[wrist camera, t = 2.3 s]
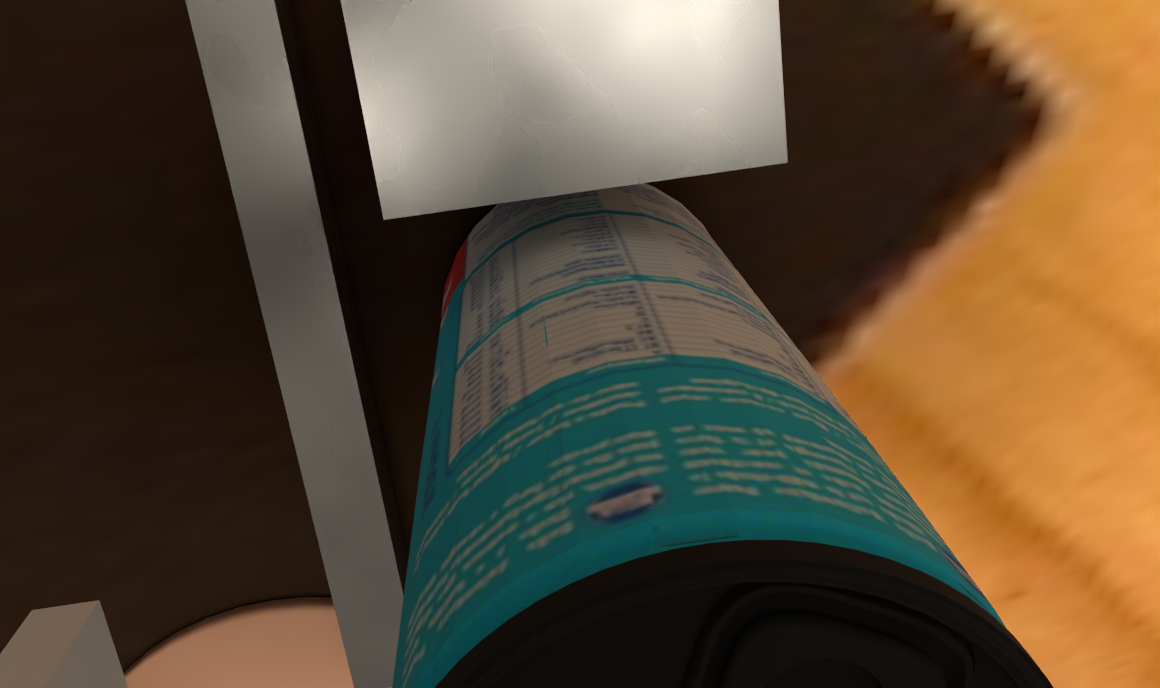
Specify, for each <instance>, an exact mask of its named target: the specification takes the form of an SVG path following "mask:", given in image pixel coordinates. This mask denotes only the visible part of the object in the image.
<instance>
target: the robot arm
mask: <svg viewBox="0 0 1160 688" xmlns="http://www.w3.org/2000/svg"><path fill="white" fill-rule="evenodd" d="M0 688H128V686H127V683H126V680H125V677H124V674H123V671H122V668H121V665H120V662H119V659H118V656H117V653H116V650H115V647H114V643H113V640H112V637H111V634H110V631H109V628H108V625H107V622H106V619H105V616H104V613H103V610H102V607H101V604H100V601H99V600H98V601H92V602H85V603H78V604H71V605H64V606H58V607H51V608H44V609H37V610H32V611H31V612H30V614H29V615H28V616H27V618H26V619H25V621H24V622H23V623H22V625H21V626H20V627H19V629H18V630H17V632H16V633H15V634H14V636H13V637H12V639H11V640H10V641H9V643H8V644H7V645H6V647H5V648H4V650H3V651H2V652H1V654H0Z"/></svg>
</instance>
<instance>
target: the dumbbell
mask: <svg viewBox="0 0 1160 688" xmlns="http://www.w3.org/2000/svg"><path fill="white" fill-rule="evenodd" d="M186 5H187V9H188V13H189V17H190V21H191V25H192V29H193V33H194V37H195V41H196V45H197V49H198V53H199V58H200V62H201V66H202V70H203V74H204V78H205V82H206V86H207V90H208V94H209V98H210V102H211V106H212V111H213V115H214V119H215V123H216V127H217V131H218V135H219V139H220V143H221V147H222V151H223V155H224V159H225V164H226V168H227V172H228V176H229V180H230V184H231V188H232V192H233V196H234V200H235V204H236V208H237V212H238V217H239V221H240V225H241V229H242V233H243V237H244V241H245V245H246V249H247V253H248V257H249V261H250V266H251V270H252V274H253V278H254V282H255V286H256V290H257V294H258V298H259V302H260V306H261V310H262V314H263V319H264V323H265V327H266V331H267V335H268V339H269V343H270V347H271V351H272V355H273V359H274V363H275V367H276V372H277V376H278V380H279V384H280V388H281V392H282V396H283V400H284V404H285V408H286V412H287V416H288V420H289V425H290V429H291V433H292V437H293V441H294V445H295V449H296V453H297V457H298V461H299V465H300V469H301V473H302V478H303V482H304V486H305V490H306V494H307V498H308V502H309V506H310V510H311V514H312V518H313V522H314V527H315V531H316V535H317V539H318V543H319V547H320V551H321V555H322V559H323V563H324V567H325V571H326V575H327V580H328V584H329V588H330V592H331V596H332V600H333V604H334V608H335V612H336V616H337V620H338V624H339V628H340V633H341V637H342V641H343V645H344V649H345V653H346V657H347V661H348V665H349V669H350V673H351V677H352V681H353V686H354V688H391V687H392V685H393V677H394V669H395V661H396V653H397V645H398V637H399V629H400V621H401V613H402V605H403V598H404V590H405V582H406V575H407V567H408V554H407V549H406V545H405V540H404V535H403V531H402V526H401V521H400V516H399V512H398V507H397V502H396V498H395V493H394V488H393V483H392V479H391V474H390V469H389V465H388V460H387V455H386V450H385V446H384V441H383V436H382V431H381V427H380V422H379V417H378V413H377V408H376V403H375V398H374V394H373V389H372V384H371V380H370V375H369V370H368V365H367V361H366V356H365V351H364V347H363V342H362V337H361V332H360V328H359V323H358V318H357V314H356V309H355V304H354V299H353V295H352V290H351V285H350V281H349V276H348V271H347V266H346V262H345V257H344V252H343V248H342V243H341V238H340V233H339V229H338V224H337V219H336V215H335V210H334V205H333V200H332V196H331V191H330V186H329V182H328V177H327V172H326V167H325V163H324V158H323V153H322V149H321V144H320V139H319V134H318V130H317V125H316V120H315V116H314V111H313V106H312V101H311V97H310V92H309V87H308V83H307V78H306V73H305V68H304V64H303V59H302V54H301V50H300V45H299V40H298V35H297V31H296V26H295V21H294V16H293V12H292V7H291V2H290V0H186ZM341 5H342V10H343V15H344V20H345V25H346V30H347V35H348V40H349V45H350V50H351V56H352V61H353V66H354V71H355V76H356V81H357V86H358V91H359V96H360V101H361V107H362V112H363V117H364V122H365V127H366V132H367V137H368V142H369V147H370V153H371V158H372V163H373V168H374V173H375V178H376V183H377V188H378V193H379V198H380V204H381V209H382V214H383V219H384V220H387V219H394V218H401V217H408V216H415V215H422V214H429V213H436V212H444V211H451V210H458V209H465V208H472V207H479V206H486V205H493V204H500V203H507V202H514V201H521V200H528V199H535V198H542V197H549V196H556V195H563V194H570V193H577V192H584V191H592V190H599V189H606V188H613V187H620V186H627V185H634V184H641V183H648V182H655V181H662V180H669V179H676V178H683V177H690V176H697V175H704V174H711V173H718V172H725V171H733V170H740V169H747V168H754V167H761V166H768V165H775V164H782V163H788V160H787V143H786V125H785V108H784V91H783V73H782V56H781V38H780V21H779V3H778V0H341Z"/></svg>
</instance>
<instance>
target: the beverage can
mask: <svg viewBox="0 0 1160 688" xmlns="http://www.w3.org/2000/svg"><path fill="white" fill-rule="evenodd" d="M441 316H442V319H441V326H440V333H439V340H438V347H437V355H436V362H435V369H434V376H433V383H432V390H431V397H430V404H429V411H428V418H427V425H426V432H425V439H424V446H423V453H422V460H421V468H420V475H419V483H418V490H417V498H416V506H415V513H414V521H413V529H412V536H411V544H410V552H409V559H408V567H407V575H406V582H405V590H404V598H403V605H402V613H401V621H400V629H399V637H398V645H397V653H396V661H395V669H394V677H393V685H392V688H1053V686H1052V685H1051V683H1050V682H1049V680H1048V679H1047V677H1046V676H1045V675H1044V673H1043V672H1042V671H1041V670H1040V668H1039V667H1038V666H1037V664H1036V663H1035V662H1034V660H1033V659H1032V658H1031V656H1030V655H1029V654H1028V653H1027V652H1026V650H1025V649H1024V648H1023V647H1022V645H1021V644H1020V643H1019V642H1018V641H1017V639H1016V638H1015V637H1014V636H1013V635H1012V634H1011V633H1010V632H1009V631H1008V630H1007V629H1006V627H1005V625H1004V624H1003V622H1002V621H1001V619H1000V617H999V616H998V614H997V613H996V611H995V610H994V608H993V607H992V606H991V604H990V603H989V602H988V600H987V599H986V597H985V596H984V595H983V593H982V592H981V591H980V589H979V588H978V587H977V585H976V584H975V583H974V581H973V580H972V579H971V577H970V576H969V575H968V573H967V572H966V570H965V569H964V568H963V566H962V565H961V564H960V562H959V561H958V560H957V558H956V557H955V556H954V554H953V553H952V552H951V550H950V549H949V548H948V546H947V545H946V543H945V542H944V541H943V539H942V538H941V537H940V535H939V534H938V533H937V531H936V530H935V529H934V527H933V526H932V525H931V523H930V522H929V521H928V519H927V518H926V516H925V515H924V514H923V512H922V511H921V510H920V508H919V507H918V506H917V504H916V503H915V502H914V500H913V499H912V498H911V496H910V495H909V494H908V492H907V491H906V490H905V488H904V487H903V486H902V485H901V483H900V482H899V481H898V479H897V478H896V477H895V475H894V474H893V473H892V471H891V470H890V469H889V467H888V466H887V465H886V463H885V462H884V461H883V460H882V458H881V457H880V456H879V454H878V453H877V452H876V450H875V449H874V448H873V446H872V445H871V444H870V442H869V441H868V440H867V438H866V437H865V436H864V435H863V433H862V432H861V431H860V429H859V428H858V427H857V425H856V424H855V423H854V421H853V420H852V419H851V417H850V416H849V415H848V413H847V412H846V411H845V409H844V408H843V407H842V406H841V404H840V403H839V402H838V400H837V399H836V398H835V396H834V395H833V394H832V392H831V391H830V390H829V388H828V387H827V386H826V384H825V383H824V382H823V381H822V379H821V378H820V377H819V375H818V374H817V373H816V371H815V370H814V369H813V368H812V366H811V365H810V364H809V362H808V361H807V360H806V359H805V357H804V356H803V355H802V353H801V352H800V351H799V350H798V348H797V347H796V346H795V344H794V343H793V342H792V341H791V339H790V338H789V337H788V335H787V334H786V333H785V332H784V330H783V329H782V328H781V326H780V325H779V324H778V323H777V321H776V320H775V319H774V317H773V316H772V315H771V314H770V312H769V311H768V310H767V308H766V307H765V306H764V304H763V303H762V302H761V301H760V299H759V298H758V297H757V295H756V294H755V293H754V292H753V290H752V289H751V288H750V286H749V285H748V284H747V283H746V281H745V280H744V279H743V277H742V276H741V275H740V274H739V272H738V271H737V270H736V268H735V267H734V266H733V265H732V263H731V262H730V261H729V259H728V258H727V257H726V256H725V254H724V253H723V252H722V250H721V249H720V248H719V247H718V245H717V244H716V243H715V241H714V240H713V239H712V238H711V236H710V235H709V233H708V232H707V230H706V228H705V227H704V225H703V224H702V223H701V222H700V221H699V220H698V219H697V218H696V217H695V216H694V215H693V214H691V213H690V212H689V211H688V210H687V209H686V208H685V207H684V206H683V205H682V204H681V203H680V202H678V201H677V200H675V199H673V198H672V197H670V196H668V195H667V194H665V193H663V192H662V191H660V190H658V189H657V188H655V187H653V186H651V185H648V184H645V183H641V184H634V185H627V186H620V187H613V188H606V189H599V190H592V191H584V192H577V193H570V194H563V195H556V196H549V197H542V198H535V199H528V200H521V201H514V202H507V203H500V204H497V205H496V206H495V207H494V208H493V209H492V210H491V211H490V212H489V213H488V214H487V215H486V216H485V217H484V218H483V219H482V220H481V221H479V222H478V223H477V224H476V225H475V226H474V228H473V229H472V231H471V232H470V234H469V235H468V237H467V238H466V240H465V241H464V243H463V244H462V246H461V247H460V249H459V250H458V252H457V254H456V257H455V260H454V262H453V265H452V268H451V270H450V273H449V276H448V278H447V281H446V284H445V290H444V298H443V306H442V314H441Z"/></svg>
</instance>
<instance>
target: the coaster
mask: <svg viewBox="0 0 1160 688" xmlns="http://www.w3.org/2000/svg"><path fill="white" fill-rule="evenodd" d="M123 674H124V677H125V680H126V683H127V686H128V688H354V686H353V681H352V677H351V673H350V669H349V665H348V661H347V657H346V653H345V649H344V645H343V641H342V637H341V633H340V628H339V624H338V620H337V616H336V612H335V608H334V604H333V600H332V597H300V598H289V599H279V600H270V601H265V602H261V603H256V604H251V605H246V606H242V607H237V608H234V609H231V610H228V611H225V612H223V613H220V614H217V615H214V616H211V617H208V618H205V619H203V620H201V621H199V622H197V623H195V624H193V625H190V626H188V627H186V628H184V629H182V630H180V631H178V632H176V633H174V634H173V635H171V636H170V637H168V638H167V639H165V640H164V641H162V642H161V643H159V644H157V645H156V646H154V647H153V648H151V649H150V650H149V651H147V652H146V653H145V654H144V655H143V656H142V657H140V658H139V659H138V660H137V661H136V662H135V663H133V664H132V665H131V666H130V667H129V668H128V669H127V670H126V671H125V672H124V673H123ZM391 688H392V687H391Z"/></svg>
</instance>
